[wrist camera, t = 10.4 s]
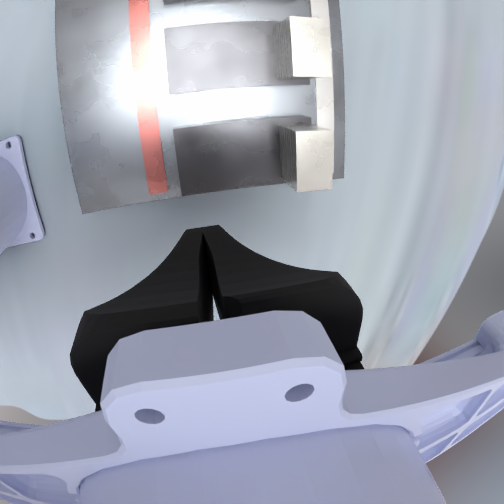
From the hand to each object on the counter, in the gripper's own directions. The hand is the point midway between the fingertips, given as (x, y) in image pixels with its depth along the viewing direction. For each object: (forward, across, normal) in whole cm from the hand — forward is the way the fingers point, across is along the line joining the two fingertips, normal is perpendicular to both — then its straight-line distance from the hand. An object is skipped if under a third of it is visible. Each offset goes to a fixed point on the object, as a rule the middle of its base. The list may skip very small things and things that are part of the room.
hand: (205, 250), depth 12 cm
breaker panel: (+10, -1, -12) cm, 16 cm away
